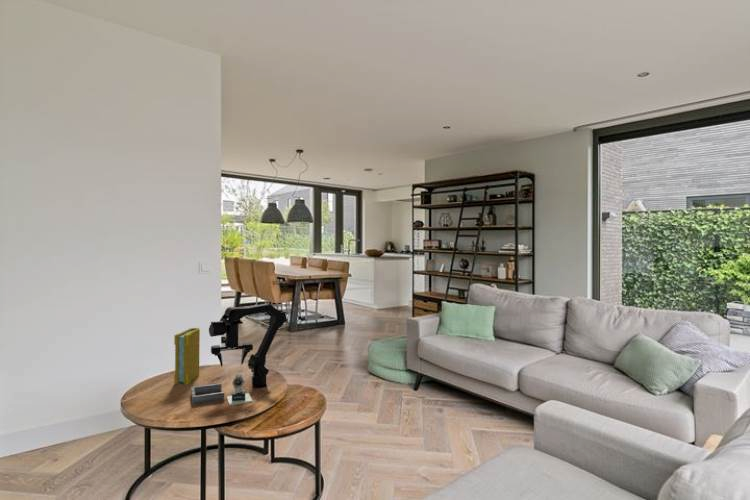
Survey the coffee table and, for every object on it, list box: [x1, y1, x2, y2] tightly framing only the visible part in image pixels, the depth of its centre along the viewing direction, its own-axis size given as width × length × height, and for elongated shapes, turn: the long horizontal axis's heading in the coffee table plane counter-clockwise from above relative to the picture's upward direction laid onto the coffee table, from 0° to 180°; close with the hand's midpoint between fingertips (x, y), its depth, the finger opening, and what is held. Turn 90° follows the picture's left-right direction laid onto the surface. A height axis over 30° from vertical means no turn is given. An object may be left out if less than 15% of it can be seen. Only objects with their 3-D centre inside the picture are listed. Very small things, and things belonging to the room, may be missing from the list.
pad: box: [226, 392, 253, 406], centre depth 188 cm, size 10×10×1 cm
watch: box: [231, 374, 246, 401], centre depth 188 cm, size 6×8×11 cm
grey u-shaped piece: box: [190, 382, 225, 406], centre depth 191 cm, size 13×13×4 cm
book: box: [173, 327, 201, 385], centre depth 215 cm, size 17×7×25 cm, turn 179°
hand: (231, 365), depth 197 cm, fingers open, 9 cm apart
